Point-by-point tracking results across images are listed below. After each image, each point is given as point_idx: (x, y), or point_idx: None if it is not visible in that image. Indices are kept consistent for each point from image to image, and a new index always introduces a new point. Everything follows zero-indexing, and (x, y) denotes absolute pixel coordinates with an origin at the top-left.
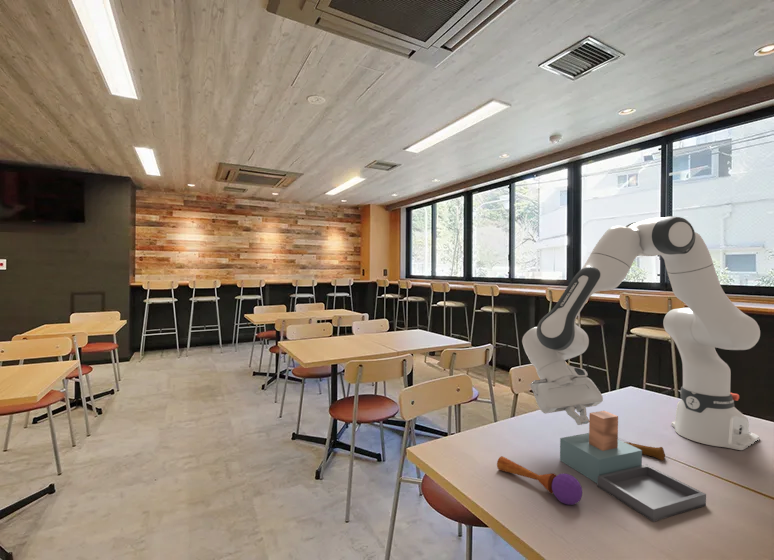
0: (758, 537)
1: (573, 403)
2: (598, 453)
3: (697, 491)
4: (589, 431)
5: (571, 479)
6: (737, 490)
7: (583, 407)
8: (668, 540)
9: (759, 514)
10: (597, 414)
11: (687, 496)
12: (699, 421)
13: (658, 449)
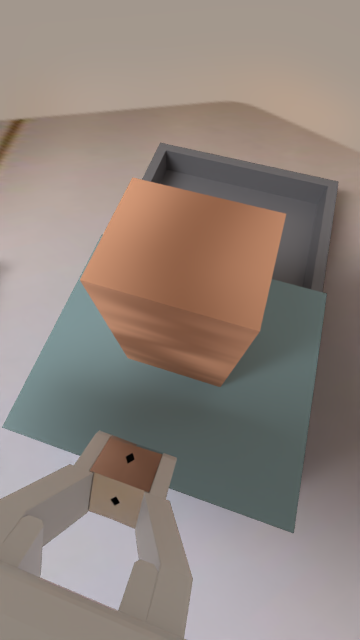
0: (202, 109)
1: (121, 633)
2: (279, 317)
3: (163, 153)
4: (230, 371)
5: None
6: (34, 147)
7: (8, 524)
8: (356, 175)
9: (114, 117)
10: (234, 272)
11: (207, 159)
12: None
13: None
